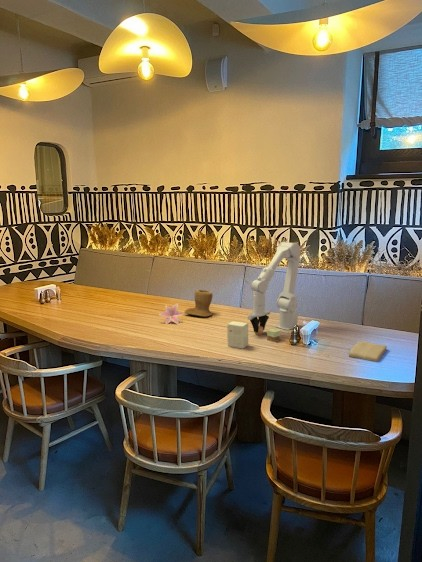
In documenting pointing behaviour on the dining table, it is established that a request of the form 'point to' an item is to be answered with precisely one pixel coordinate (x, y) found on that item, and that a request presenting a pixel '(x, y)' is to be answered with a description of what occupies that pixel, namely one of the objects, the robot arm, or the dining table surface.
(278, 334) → the tower top
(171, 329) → the dining table surface
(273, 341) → the tower base
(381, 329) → the dining table surface
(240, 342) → the small box
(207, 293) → the brown boot
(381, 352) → the washcloth
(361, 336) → the dining table surface
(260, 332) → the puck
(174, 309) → the lily
